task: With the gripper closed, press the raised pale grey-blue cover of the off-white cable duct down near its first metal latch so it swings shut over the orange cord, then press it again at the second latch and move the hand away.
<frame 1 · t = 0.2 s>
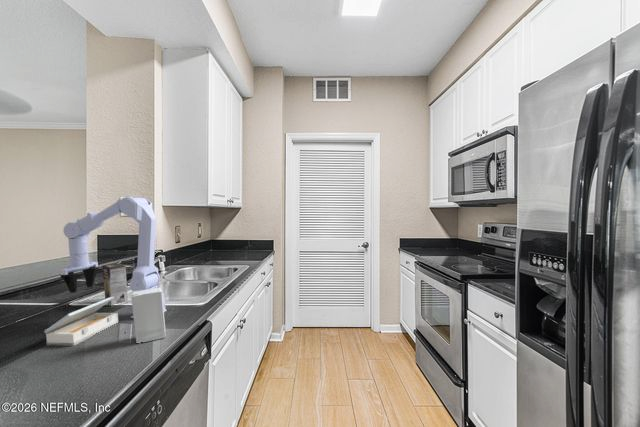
hand: (81, 289, 124), 10 cm above the counter, tool pointing down, fingers open, 7 cm apart
coffee box: (116, 303, 139), on the counter
cable duct: (85, 333, 107), on the counter
skincare box: (150, 338, 101), on the counter
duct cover: (82, 313, 106), point 7 cm above the counter, hinge at 32.0°
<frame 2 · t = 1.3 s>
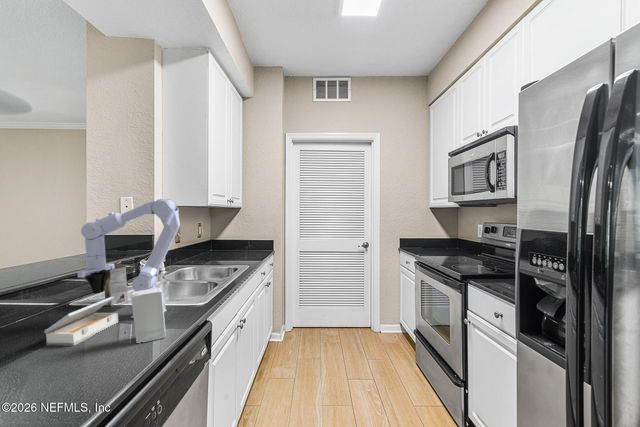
hand: (98, 292, 119), 10 cm above the counter, tool pointing down, fingers closed
nothing on the counter moved.
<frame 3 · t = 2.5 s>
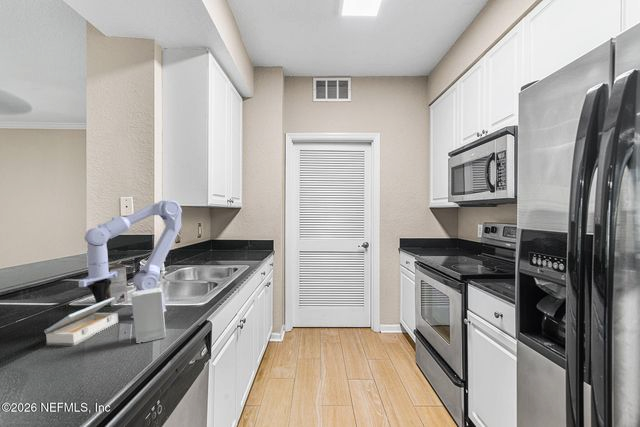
hand: (100, 302, 112), 8 cm above the counter, tool pointing down, fingers closed, pressing on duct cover
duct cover: (82, 313, 106), point 6 cm above the counter, hinge at 29.7°, touching gripper
everything else where it was.
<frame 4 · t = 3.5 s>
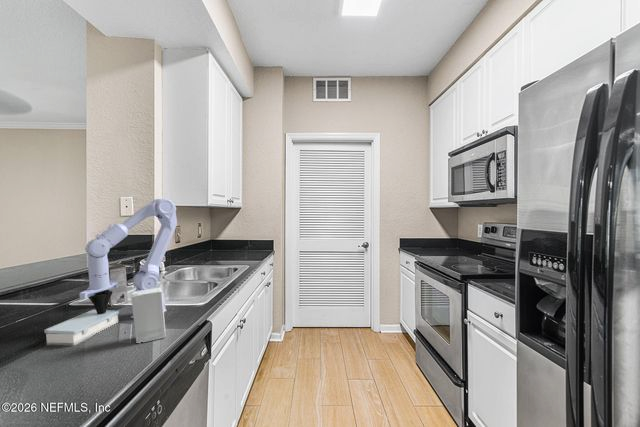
hand: (101, 313, 112), 4 cm above the counter, tool pointing down, fingers closed, pressing on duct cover
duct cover: (84, 320, 106), point 4 cm above the counter, hinge at -1.9°, touching cable duct, gripper
everything else where it was.
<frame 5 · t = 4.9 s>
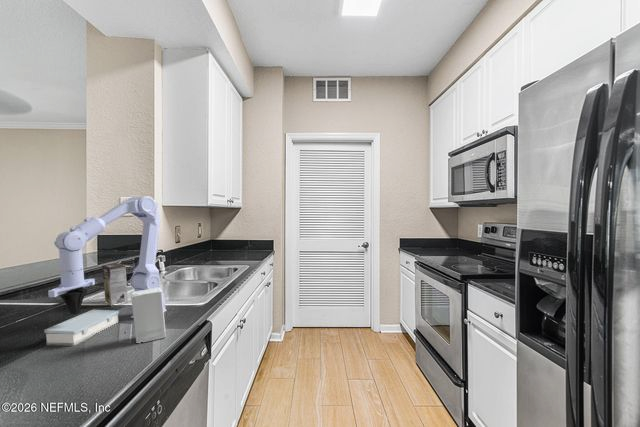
hand: (74, 313, 102), 8 cm above the counter, tool pointing down, fingers closed
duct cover: (84, 320, 106), point 4 cm above the counter, hinge at -1.9°, touching cable duct
everything else where it was.
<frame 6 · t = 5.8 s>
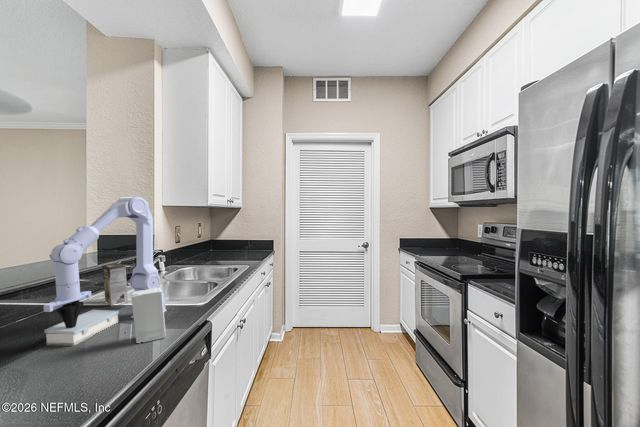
hand: (70, 327, 100), 4 cm above the counter, tool pointing down, fingers closed, pressing on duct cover
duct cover: (84, 320, 106), point 4 cm above the counter, hinge at -1.9°, touching cable duct, gripper
everything else where it was.
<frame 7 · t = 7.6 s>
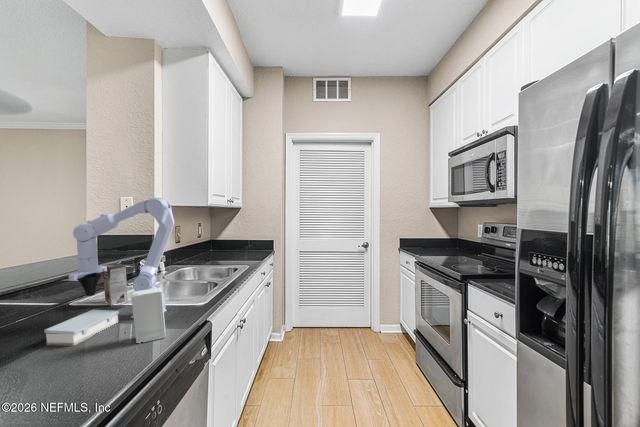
hand: (90, 295, 117), 9 cm above the counter, tool pointing down, fingers closed
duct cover: (84, 320, 106), point 4 cm above the counter, hinge at -1.9°, touching cable duct
everything else where it was.
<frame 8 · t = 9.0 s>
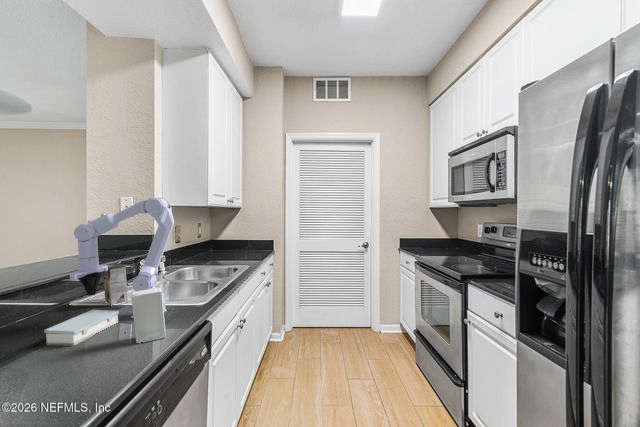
hand: (91, 294, 118), 9 cm above the counter, tool pointing down, fingers closed
nothing on the counter moved.
at the end: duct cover at -2° (first picture: +32°); coffee box moved 0.2 cm from its start; skincare box moved 0.2 cm from its start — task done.
